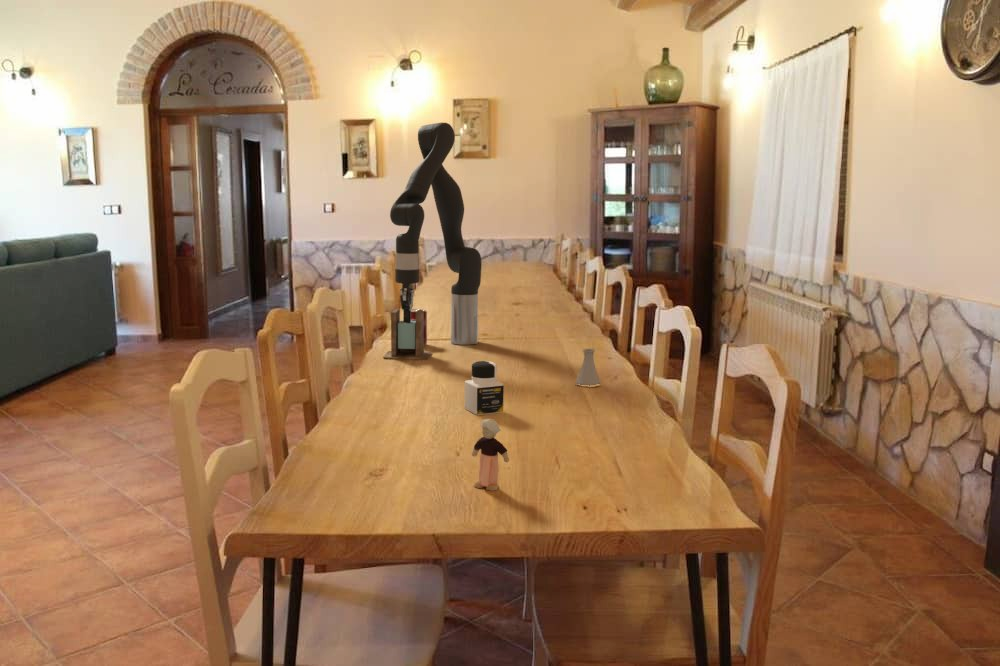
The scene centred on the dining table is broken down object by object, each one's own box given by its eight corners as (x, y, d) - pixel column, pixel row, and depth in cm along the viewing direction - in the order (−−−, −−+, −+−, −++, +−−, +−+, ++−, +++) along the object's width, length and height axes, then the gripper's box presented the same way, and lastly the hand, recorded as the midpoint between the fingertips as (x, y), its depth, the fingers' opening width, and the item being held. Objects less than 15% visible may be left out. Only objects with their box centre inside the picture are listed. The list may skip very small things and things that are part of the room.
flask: (604, 384, 234) (605, 348, 232) (596, 389, 227) (597, 353, 226) (579, 381, 237) (580, 346, 235) (570, 386, 230) (572, 350, 229)
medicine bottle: (477, 416, 199) (477, 366, 197) (464, 409, 205) (464, 360, 203) (503, 412, 202) (504, 363, 200) (490, 406, 208) (490, 358, 206)
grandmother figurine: (465, 488, 151) (465, 419, 149) (473, 481, 154) (474, 414, 152) (505, 494, 148) (506, 424, 146) (513, 487, 151) (514, 418, 149)
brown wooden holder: (431, 353, 273) (431, 309, 271) (427, 359, 263) (427, 313, 261) (388, 352, 274) (388, 308, 271) (383, 358, 264) (382, 312, 261)
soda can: (425, 347, 285) (425, 311, 283) (404, 346, 285) (404, 311, 283) (427, 343, 292) (427, 308, 290) (407, 342, 292) (406, 308, 290)
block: (417, 345, 271) (417, 321, 269) (414, 348, 265) (414, 323, 264) (400, 345, 271) (400, 320, 269) (397, 348, 265) (397, 323, 264)
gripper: (416, 269, 257) (416, 325, 260) (422, 266, 270) (421, 319, 273) (391, 269, 257) (391, 325, 260) (398, 265, 270) (398, 318, 273)
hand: (407, 322), depth 267 cm, fingers closed
